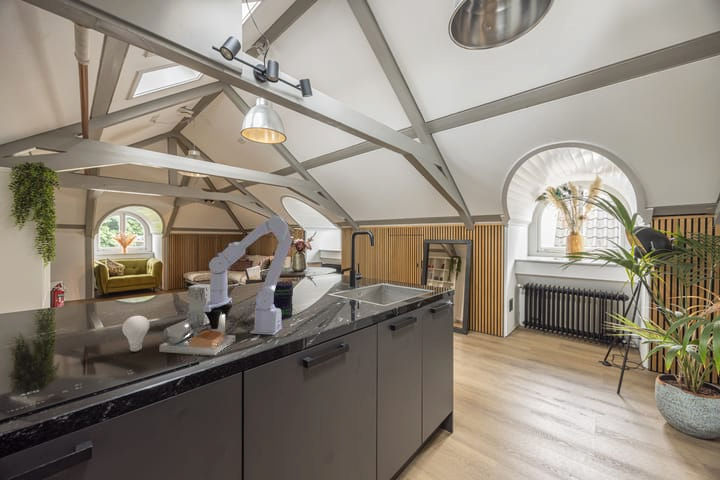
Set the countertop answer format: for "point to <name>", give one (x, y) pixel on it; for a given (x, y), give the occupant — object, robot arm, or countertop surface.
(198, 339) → the white rectangular base assembly
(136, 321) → the light bulb
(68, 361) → the countertop surface
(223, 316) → the white bottle
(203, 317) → the circuit breaker
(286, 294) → the storage jar
